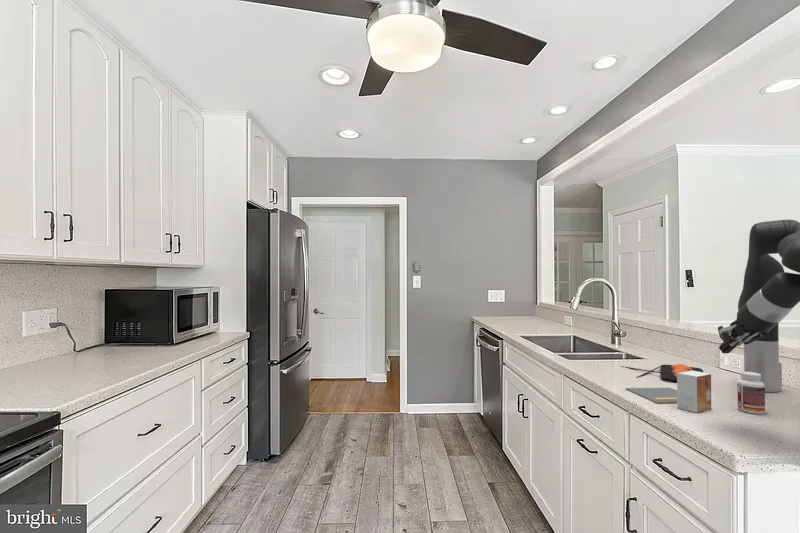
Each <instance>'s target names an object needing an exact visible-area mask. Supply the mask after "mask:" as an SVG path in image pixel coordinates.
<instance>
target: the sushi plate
mask: <svg viewBox="0 0 800 533" xmlns="http://www.w3.org/2000/svg"><path fill="white" fill-rule="evenodd" d="M620 367H621V368H624V367H625V368H626V369H628V368H629V369H630V370H635V371H643V372H644V373H643V374H640V375H637V376H636V377H635V378H636V379H639V378H641V377H644V376H646V375H648V374H650V373H657V374H660V378H662V379H663V380H668V381H672V382H676V383H677V373H681V372H687V371H691V370H692V371H698V372H703V373H705V372H704V370H703V368H700V367H695V366H694V367H693V366H688V365H687V364H684V363H683V364H682V363H681V364H680V363H678V364H661V365H659V366H658V367H655V368H654V369H651V370H650V369H649V370H648V369H642V368H636V367H629V366H625V365H624V366H622V365H620ZM625 368H624V369H625ZM659 368H660V371H655V370H657V369H659Z"/></svg>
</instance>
